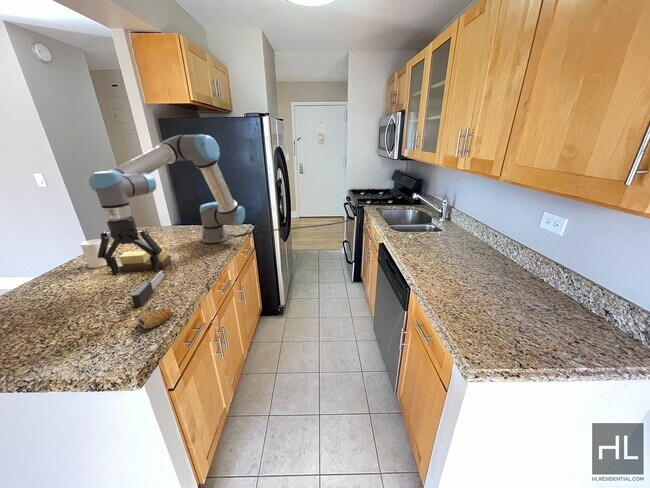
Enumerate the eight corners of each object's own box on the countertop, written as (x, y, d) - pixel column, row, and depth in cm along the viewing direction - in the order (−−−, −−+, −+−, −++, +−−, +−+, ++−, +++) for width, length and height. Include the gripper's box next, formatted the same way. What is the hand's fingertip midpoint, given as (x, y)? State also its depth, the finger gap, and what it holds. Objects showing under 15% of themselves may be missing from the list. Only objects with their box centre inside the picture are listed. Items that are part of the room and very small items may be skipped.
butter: (150, 257, 130) (148, 250, 129) (144, 262, 125) (142, 255, 123) (128, 259, 129) (126, 251, 127) (121, 264, 123) (119, 256, 122)
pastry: (166, 310, 94) (164, 301, 93) (176, 317, 91) (174, 308, 89) (137, 324, 87) (134, 315, 86) (146, 332, 84) (144, 322, 82)
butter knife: (166, 276, 118) (164, 267, 116) (141, 306, 97) (138, 294, 95) (160, 277, 118) (158, 267, 116) (134, 306, 96) (130, 295, 95)
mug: (120, 259, 135) (113, 237, 131) (111, 266, 128) (103, 244, 123) (94, 261, 133) (86, 239, 129) (83, 268, 126) (75, 245, 121)
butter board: (171, 260, 134) (170, 255, 133) (163, 269, 125) (161, 263, 124) (131, 262, 132) (129, 257, 130) (120, 272, 122) (118, 266, 121)
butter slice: (166, 256, 131) (165, 249, 130) (162, 261, 126) (160, 254, 124) (160, 257, 131) (158, 249, 129) (155, 262, 125) (153, 254, 124)
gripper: (70, 223, 84) (93, 280, 92) (154, 219, 87) (168, 274, 95) (86, 216, 90) (106, 270, 98) (163, 213, 94) (176, 265, 102)
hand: (136, 272), depth 97 cm, fingers open, 13 cm apart
